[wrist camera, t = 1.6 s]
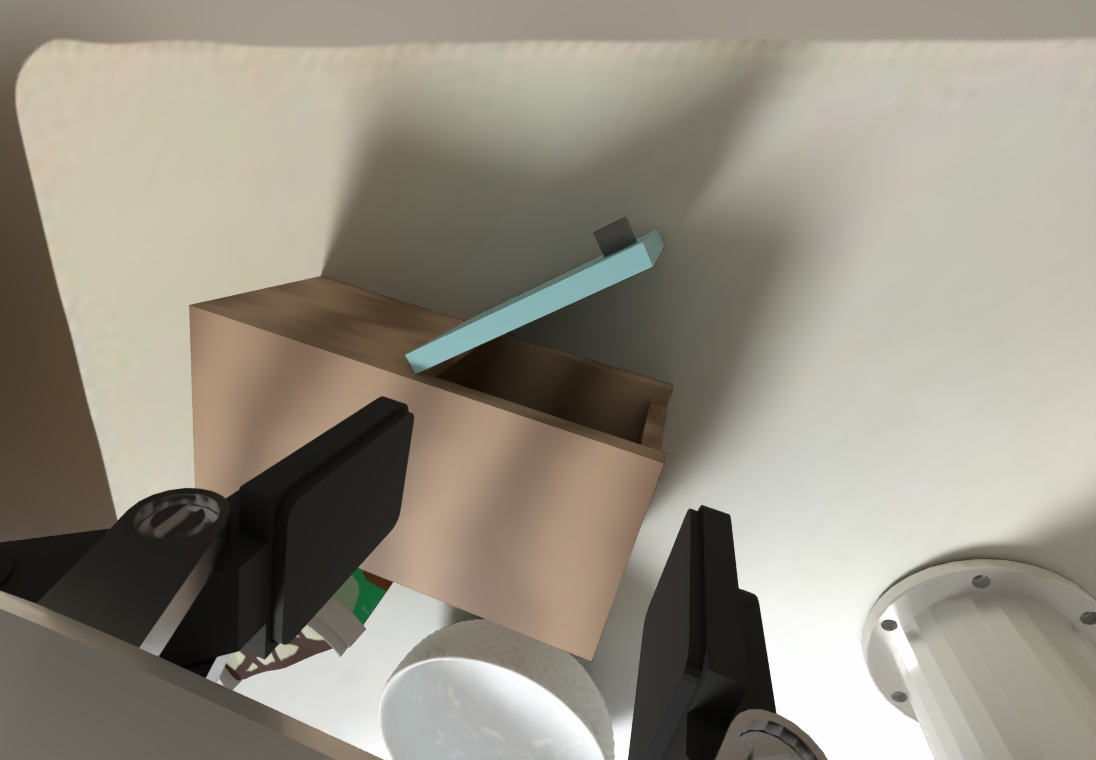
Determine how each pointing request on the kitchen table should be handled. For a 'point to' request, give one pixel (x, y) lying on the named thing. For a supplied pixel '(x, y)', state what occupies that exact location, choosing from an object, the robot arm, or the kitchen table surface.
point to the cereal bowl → (492, 700)
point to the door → (548, 294)
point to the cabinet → (444, 446)
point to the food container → (317, 629)
